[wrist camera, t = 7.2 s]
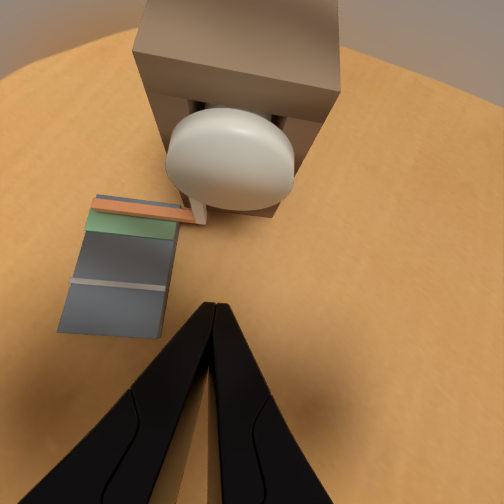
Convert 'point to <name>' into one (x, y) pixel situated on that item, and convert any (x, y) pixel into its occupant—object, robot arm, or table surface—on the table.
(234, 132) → the peg
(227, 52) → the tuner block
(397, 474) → the table surface
